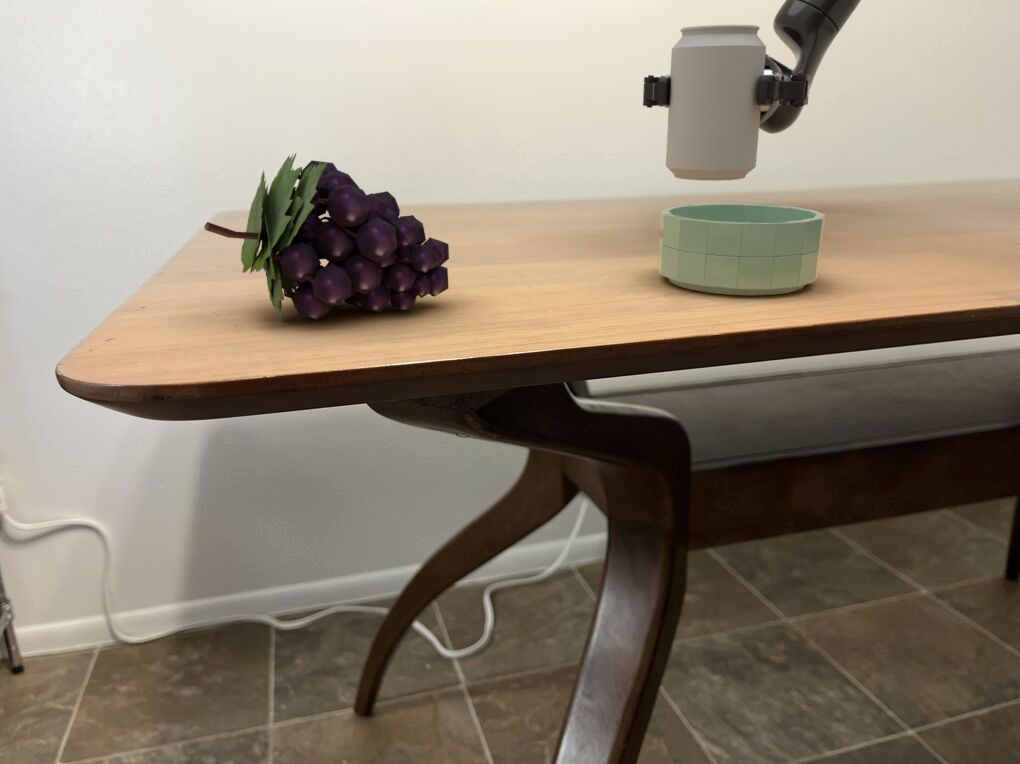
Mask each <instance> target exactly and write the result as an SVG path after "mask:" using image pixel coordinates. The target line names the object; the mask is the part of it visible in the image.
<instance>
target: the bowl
mask: <svg viewBox="0 0 1020 764" xmlns="http://www.w3.org/2000/svg"><path fill="white" fill-rule="evenodd" d="M825 220H826V214H825V213H822V212H819V211H817V210H815V209H808V208H803V207H799V206H787V205H778V204H766V203H765V204H763V203H761V204H760V203H738V202H737V203H733V202H731V203H729V202H727V203H722V202H720V203H719V202H718V203H714V202H712V203H694V204H693V203H692V204H683V205H675V206H669V207H667V208H664V209H662V210H660V214H659V231H658V233H659V235H658V251H657V253H658V254H657V255H658V256H657V257H658V258H657V271H658V272H659V274H660V275H661V276H662V277H665V278H668V281H669V283H671V284H673V285H675V286H677V287H679V288H683V289H687V290H691V291H694V292H695V291H696V292H701V293H706V294H715V295H726V296H727V295H728V296H745V297H746V296H748V297H749V296H751V297H752V296H753V297H754V296H755V297H756V296H775V295H784V294H789V293H793V292H798V291H801V290H802V289H803V288H804V287H805V286H806V285H809V284H813V283H815V282H816V280H817V279H818V276H819V274H820V273H819V271H820V264H821V263H820V262H821V254H822V245H823V237H824V231H825V230H824V229H825V222H826V221H825Z"/></svg>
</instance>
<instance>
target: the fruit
mask: <svg viewBox="0 0 1020 764" xmlns="http://www.w3.org/2000/svg"><path fill="white" fill-rule="evenodd" d="M296 157H297V152H295V153H293V154H292V155H291V156H290V154H289V155H288V156H287V158H286V159H285V161H284V162H283V163H282V166H281V167H280V168H279V170H278V171H277V174H276V176H274V178H273V180H272V182H271V184H270V186H269V185H267V183H266V182H267V179H266V177H265V171H264V170H265V169H263V170H262V173H261V176H260V183H259V185H258V186H257V189H256V193H255V195H254V198H253V200H252V201H251V206H250V210H249V215H248V218H247V224H246V229H245V231H236V230H233V229H230V228H226V227H224V226H220V225H217V224H215V223H212V222H210V221H209V222H208V221H207V222H206V223H205V225H204V226H203V227H204V231H207V232H211V233H212V234H213V233H214V234H217V235H219V236H222V237H226V238H228V239H241V240H243V243H242V246H241V253H240V261H241V262H242V265H243V268H242V271H241V273H243V274H244V273H246V272H248V270H250V272H249V273H250V274H249V275H252V273H253V272H254V271H255V273H257V272H258V273H259V272H260V271H262V269H263V270H264V272H265V277H266V284H267V289H268V293H269V295H268V296H269V301H270V302H271V305H272V307H273V309H274V310H275V311H277V312H278V316H279V319H280V321H282V313H283V304H282V303H283V302H282V301H285V297H286V298H287V299H291V301H292V304H293V306H294V308H295V310H296V312H297V314H298V316H300V317H304V318H308V319H311V320H316V321H319V320H321V318H323V317H324V316H325V315H326V314H328V313H329V312H330V311H331V310H332V309H333V308H334V305H335V306H336V305H337V306H340V305H341V304H342V303H343V302H344V304H346V305H349V306H353V307H356V308H359V309H361V308H362V309H364V310H366V311H371V312H375V313H378V314H381V313H382V311H383V310H384V309H385V307H387V305H389V303H390V306H391V308H393V309H399V310H413V308H414V305H415V302H416V301H417V297H419V298H420V299H423V298H424V297H426V296H427V295H429V296H432V297H433V298H434V297H436V296H438V295H440V294H442V293H444V292H445V291H447V290H449V287H450V286H449V271H448V270H449V269H448V267H446V266H443V264H445V263H446V262H447V261H448V260H450V247H449V243H447V242H446V241H445V242H444V241H442V240H439V239H436V238H433V237H428V238H426V233H425V226H424V223H423V222H422V221H420V220H419V219H417V218H416V217H415V215H414V214H411V215H402V216H401V214H400V213H401V209H400V206H399V205H398V202H397V199H396V197H395V196H394V195H392V194H391V192H389V191H388V190H386V191H381V192H375V193H373V192H371V193H369V194H366V192H365V191H364V190H363V188H360V186H359V185H358V184H357V183H356V182H355V180H354V179H353V178H352V177H351V176H350V174H349V173H346V172H344V171H341V170H339V169H337V167H336V165H335V163H334V162H329V161H322V160H321V161H319V160H313V159H312V160H311V161H309V163H307V164H306V166H305V167H304V168H303V167H302V166H300V167H298V168H296V169H295V167H293V165H294V163H295V160H296ZM294 169H295V170H294ZM297 181H298V183H297ZM296 183H297V186H295V184H296ZM269 187H270V188H269ZM327 213H328V216H323V215H325V214H327ZM322 216H323V217H322ZM320 217H321V218H320ZM321 260H326V261H327V263H326V265H325V266H324V265H323V264H322V262H321Z"/></svg>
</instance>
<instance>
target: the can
mask: <svg viewBox="0 0 1020 764" xmlns="http://www.w3.org/2000/svg"><path fill="white" fill-rule="evenodd" d="M760 29H761V27H760V26H759V25H757V24H756V25H755V24H709V25H708V24H707V25H695V26H693V25H692V26H685V27H681V29H680V33H681V37H680V38H679V40H678V41H677V42H676V43H675V44H674V46H673V47H672V48H671V55H670V56H671V57H670V73H669V75H670V96H669V108H668V113H667V115H668V117H667V134H666V155H665V167H666V168H667V169H668V171H670V172H671V173H672V174H673V176H674V178H675V179H681V180H688V181H706V182H707V181H711V182H712V181H713V182H714V181H715V182H716V181H717V182H718V181H719V182H720V181H737V180H742V179H745V178H746V176H747V175H748V174H749V173H750V172H752V171H753V170H754V169H756V166H757V157H758V144H759V133H760V128H759V123H760V112H761V105H757V99H758V88H759V78H760V76H764V66H765V55H766V54H767V53H766V52H767V46H766V45H765V43H764V41H762V39H761V38H760V36H759V34H758V32H759V30H760Z"/></svg>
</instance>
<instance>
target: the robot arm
mask: <svg viewBox="0 0 1020 764" xmlns="http://www.w3.org/2000/svg"><path fill="white" fill-rule="evenodd" d="M861 1H862V0H785V1H784V2H783V4H782V5H781V6H780V8H779V10H778V11H777V12H776V14H775V16H774V19H773V21H772V28H773V31H774V33H775V35H776V36H777V38H779V39H780V41H781V42H782V43H783V44H784V45H785V46H786V47H787V48H788V49H789V50H790V51H791V52H792V54H793V56H794V58H795V59H794V60H795V65H794V66H795V67H794V68H790V67H788V66H786V65H785V64H783V63H781V62H780V61H778V60H777V59H775V58H774V57H772V56H770V55H769V54H767V53H766V55H765V66H764V76H760V78H759V88H758V99H757V105H761V112H760V123H759V130H761V131H763V132H764V133H767V134H771V135H775V134H780V133H782V132H784V131H785V130H788V129H789V128H790V127H791V126H793V125H794V124H795V122H797V120H798V119H799V117H800V115H801V113H802V111H803V110H804V107H805V106H807V105H808V104H809V95H810V89H811V87H812V85H813V82H814V79H815V77H816V74H817V72H818V69H819V67H820V65H821V62H822V61H823V59H824V57H825V55H826V54H827V51H828V49H829V48H830V46H831V45H832V43H833V41H834V40H836V38H837V36H838V34H839V33H840V31H841V30H842V29H843V27H844V26H845V24H846V23H847V22H848V20H849V19H850V17H851V16H852V15H853V13H854V11H855V10H856V9H857V7H858V6H859V4H860V3H861ZM642 91H643V95H642V106H643V107H646V108H647V109H648V108H650V109H651V108H653V107H660V108H661V107H664V108H665V109H666V108H667V109H669V96H670V74H666V75H660V76H655V75H651V74H650V75H649V74H648V75H647V76H645V77H643V90H642Z"/></svg>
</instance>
